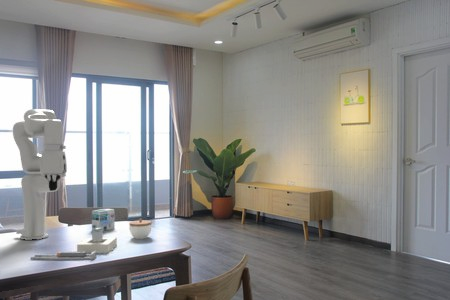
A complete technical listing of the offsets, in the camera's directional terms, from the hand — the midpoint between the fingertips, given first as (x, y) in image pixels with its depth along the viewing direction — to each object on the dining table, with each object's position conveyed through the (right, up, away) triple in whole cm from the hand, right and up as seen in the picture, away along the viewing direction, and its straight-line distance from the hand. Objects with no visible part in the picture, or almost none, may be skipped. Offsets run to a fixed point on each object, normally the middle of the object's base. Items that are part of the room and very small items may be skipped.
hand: (53, 190), depth 175 cm
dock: (+19, -26, +1) cm, 32 cm away
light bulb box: (+9, -26, +44) cm, 52 cm away
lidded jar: (+33, -26, +23) cm, 48 cm away
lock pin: (+13, -26, -14) cm, 32 cm away
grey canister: (+19, -26, +1) cm, 32 cm away
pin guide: (+10, -26, -14) cm, 31 cm away
